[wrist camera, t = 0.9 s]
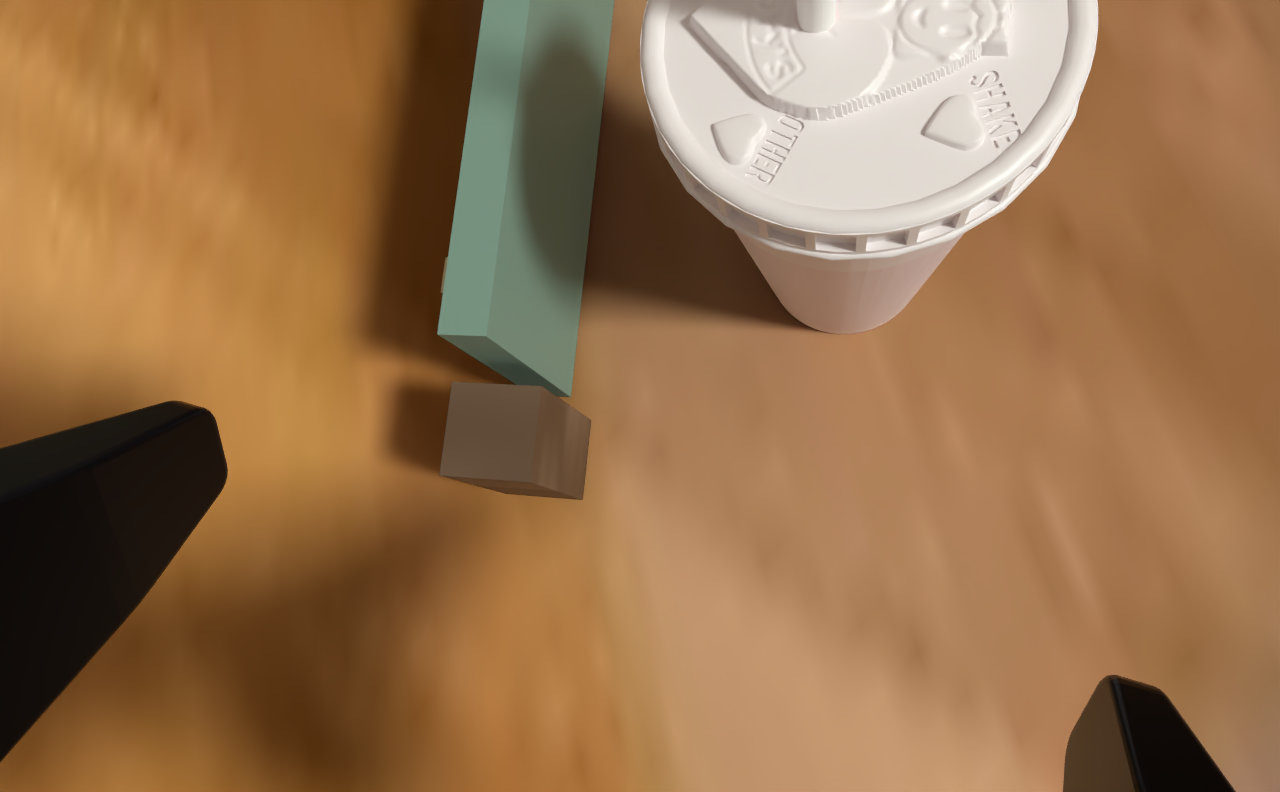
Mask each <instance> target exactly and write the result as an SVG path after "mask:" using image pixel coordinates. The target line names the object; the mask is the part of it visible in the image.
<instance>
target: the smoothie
mask: <svg viewBox="0 0 1280 792" xmlns="http://www.w3.org/2000/svg"><path fill="white" fill-rule="evenodd" d="M1097 32H1098V2H1097V0H648V1H647V4H646V8H645V13H644V17H643V22H642V30H641V39H640V65H641V75H642V81H643V86H644V91H645V95H646V99H647V102H648V106H649V109H650V113H651V117H652V120H653V124H654V128H655V131H656V135H657V139H658V142H659V146H660V149H661V151H662V152H663V154H664V156H665V157H666V159H667V160H668V162H669V164H670V165H671V167H672V168H673V170H674V172H675V173H676V175H677V176H678V178H679V180H680V181H681V183H682V184H683V186H684V188H685V189H686V191H687V192H688V193H689V194H690V195H692V196H693V197H694V198H695V199H696V200H697V201H698V202H699V203H701V204H702V205H703V206H704V207H705V208H706V209H707V210H708V211H710V212H711V213H712V214H713V215H714V216H715V217H716V218H717V219H719V220H720V221H721V222H722V223H723V224H724V225H725V226H727V227H729V228H731V229H733V230H734V231H735V232H736V234H737V236H738V237H739V239H740V240H741V242H742V243H743V245H744V246H745V248H746V250H747V251H748V253H749V254H750V256H751V257H752V259H753V260H754V262H755V264H756V265H757V267H758V268H759V270H760V271H761V273H762V274H763V276H764V277H765V279H766V281H767V282H768V284H769V285H770V287H771V288H772V290H773V291H774V293H775V295H776V296H777V298H778V299H779V301H780V302H781V304H782V305H783V306H784V308H785V309H786V310H787V311H788V312H789V313H790V314H791V315H792V316H794V317H795V318H796V319H797V320H799V321H800V322H802V323H804V324H805V325H807V326H809V327H812V328H814V329H817V330H820V331H823V332H828V333H834V334H853V333H860V332H864V331H868V330H871V329H874V328H876V327H878V326H881V325H883V324H884V323H886V322H888V321H889V320H891V319H892V318H894V317H895V316H896V315H897V314H898V313H900V312H901V311H902V310H903V309H904V308H905V306H906V305H907V304H908V303H909V301H910V300H911V299H912V298H913V296H914V295H915V294H916V293H917V291H918V290H919V289H920V288H921V286H922V285H923V284H924V283H925V281H926V280H927V279H928V278H929V276H930V275H931V274H932V273H933V271H934V270H935V269H936V268H937V266H938V265H939V264H940V263H941V261H942V260H943V259H944V258H945V256H946V255H947V254H948V253H949V251H950V250H951V249H952V248H953V246H954V245H955V244H956V243H957V241H958V240H959V239H960V238H961V236H962V235H963V234H964V233H965V232H967V231H968V230H970V229H972V228H973V227H975V226H977V225H979V224H980V223H982V222H984V221H985V220H987V219H989V218H990V217H992V216H994V215H996V214H997V213H999V212H1001V211H1002V210H1004V209H1005V208H1006V207H1007V206H1008V205H1009V204H1010V203H1011V202H1012V201H1013V200H1014V199H1015V198H1016V197H1017V196H1018V195H1019V194H1020V193H1021V192H1022V191H1023V190H1024V189H1025V188H1026V187H1027V186H1028V185H1029V184H1030V183H1031V182H1032V181H1033V180H1034V179H1035V178H1036V177H1037V176H1038V175H1039V174H1040V173H1041V172H1042V171H1043V170H1044V169H1045V168H1046V167H1047V166H1048V164H1049V162H1050V161H1051V159H1052V157H1053V155H1054V154H1055V152H1056V150H1057V148H1058V146H1059V145H1060V143H1061V141H1062V139H1063V138H1064V136H1065V134H1066V132H1067V131H1068V129H1069V127H1070V125H1071V124H1072V122H1073V120H1074V118H1075V116H1076V112H1077V108H1078V103H1079V99H1080V95H1081V93H1082V91H1083V89H1084V86H1085V83H1086V80H1087V78H1088V75H1089V72H1090V69H1091V65H1092V61H1093V57H1094V53H1095V48H1096V40H1097Z"/></svg>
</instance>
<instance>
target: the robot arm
mask: <svg viewBox="0 0 1280 792" xmlns="http://www.w3.org/2000/svg"><path fill="white" fill-rule="evenodd" d="M227 472H228V469H227V463H226V459H225V455H224V451H223V447H222V443H221V439H220V435H219V431H218V426H217V422H216V420H215V417H214V416H213V414H212V413H211V412H210V411H209V410H207V409H205V408H202V407H199V406H196V405H192V404H189V403H185V402H182V401H168V402H164V403H160V404H157V405H153V406H150V407H146V408H143V409H139V410H135V411H132V412H128V413H125V414H121V415H118V416H114V417H110V418H107V419H103V420H100V421H96V422H93V423H89V424H86V425H82V426H78V427H75V428H71V429H68V430H64V431H61V432H57V433H54V434H50V435H46V436H43V437H39V438H36V439H32V440H29V441H25V442H22V443H18V444H14V445H11V446H7V447H4V448H0V762H1V761H2V760H3V759H4V758H5V757H6V755H7V754H8V753H9V752H10V751H11V750H12V749H13V747H14V746H15V745H16V744H17V743H18V742H19V741H20V740H21V738H22V737H23V736H24V735H25V734H26V733H27V732H28V730H29V729H30V728H31V727H32V726H33V725H34V724H35V722H36V721H37V720H38V719H39V718H40V717H41V716H42V715H43V713H44V712H45V711H46V710H47V709H48V708H49V707H50V705H51V704H52V703H53V702H54V701H55V700H56V699H57V697H58V696H59V695H60V694H61V693H62V692H63V691H64V689H65V688H66V687H67V686H68V685H69V684H70V683H71V682H72V680H73V679H74V678H75V677H76V676H77V675H78V674H79V672H80V671H81V670H82V669H83V668H84V667H85V666H86V664H87V663H88V662H89V661H90V660H91V659H92V658H93V656H94V655H95V654H96V653H97V652H98V651H99V650H100V649H101V647H102V646H103V645H104V644H105V643H106V642H107V641H108V639H109V638H110V637H111V636H112V635H113V634H114V633H115V631H116V630H117V629H118V628H119V627H120V626H121V625H122V624H123V622H124V621H125V620H126V619H127V618H128V616H129V615H130V614H131V613H132V612H133V611H134V609H135V608H136V607H137V606H138V605H139V603H140V602H141V601H142V599H143V598H144V597H145V596H146V594H147V593H148V592H149V590H150V589H151V588H152V586H153V585H154V584H155V582H156V581H157V580H158V578H159V577H160V575H161V574H162V573H163V571H164V570H165V569H166V567H167V566H168V564H169V563H170V562H171V560H172V559H173V558H174V556H175V555H176V553H177V552H178V551H179V549H180V548H181V546H182V545H183V544H184V542H185V541H186V540H187V538H188V537H189V535H190V534H191V533H192V531H193V530H194V529H195V527H196V526H197V524H198V523H199V522H200V520H201V519H202V518H203V516H204V515H205V513H206V512H207V511H208V509H209V508H210V506H211V505H212V504H213V502H214V501H215V500H216V498H217V497H218V495H219V494H220V493H221V491H222V489H223V487H224V485H225V483H226V479H227ZM1063 792H1236V791H1235V790H1234V789H1233V787H1232V786H1231V784H1230V783H1229V782H1228V780H1227V779H1226V778H1225V776H1224V775H1223V773H1222V772H1221V771H1220V769H1219V768H1218V766H1217V765H1216V764H1215V762H1214V761H1213V759H1212V758H1211V757H1210V755H1209V754H1208V752H1207V751H1206V750H1205V748H1204V747H1203V745H1202V744H1201V743H1200V741H1199V740H1198V738H1197V737H1196V736H1195V734H1194V733H1193V731H1192V730H1191V729H1190V727H1189V726H1188V724H1187V723H1186V722H1185V720H1184V719H1183V718H1182V716H1181V715H1180V713H1179V712H1178V711H1177V709H1176V708H1175V706H1174V705H1173V704H1172V702H1171V701H1170V699H1169V698H1168V697H1167V696H1166V694H1164V693H1163V692H1162V691H1161V690H1160V689H1158V688H1157V687H1154V686H1152V685H1148V684H1145V683H1142V682H1138V681H1135V680H1131V679H1128V678H1125V677H1121V676H1118V675H1108V676H1106V677H1105V678H1103V679H1102V680H1101V681H1100V682H1099V684H1098V685H1097V687H1096V689H1095V691H1094V693H1093V694H1092V696H1091V698H1090V700H1089V702H1088V703H1087V705H1086V707H1085V709H1084V711H1083V712H1082V714H1081V716H1080V718H1079V719H1078V721H1077V723H1076V725H1075V727H1074V728H1073V730H1072V732H1071V735H1070V738H1069V741H1068V745H1067V749H1066V755H1065V767H1064V783H1063Z"/></svg>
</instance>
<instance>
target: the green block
mask: <svg viewBox="0 0 1280 792" xmlns="http://www.w3.org/2000/svg"><path fill="white" fill-rule="evenodd" d="M613 7H614V0H484V4H483V11H482V18H481V25H480V32H479V40H478V47H477V54H476V61H475V68H474V75H473V82H472V89H471V97H470V104H469V111H468V118H467V125H466V132H465V139H464V146H463V154H462V161H461V168H460V175H459V182H458V189H457V196H456V204H455V211H454V218H453V225H452V232H451V239H450V246H449V253H448V257H445V264H444V271H443V278H442V285H441V293H442V294H443V296H442V303H441V310H440V318H439V325H438V332H437V335H439V336H440V337H442V338H444V339H445V340H447V341H448V342H450V343H452V344H453V345H455V346H456V347H458V348H459V349H461V350H463V351H464V352H466V353H467V354H469V355H470V356H472V357H474V358H475V359H477V360H478V361H480V362H481V363H483V364H485V365H486V366H488V367H489V368H491V369H492V370H494V371H496V372H497V373H499V374H500V375H502V376H504V377H505V378H507V379H508V380H510V381H511V382H513V383H515V384H516V385H528V386H542V387H544V388H545V389H547V390H548V391H549V392H551V393H552V394H554V395H555V396H559V397H571V391H572V382H573V372H574V363H575V354H576V345H577V336H578V327H579V318H580V309H581V299H582V290H583V281H584V272H585V263H586V254H587V245H588V236H589V226H590V217H591V208H592V199H593V190H594V181H595V172H596V163H597V153H598V144H599V135H600V126H601V117H602V108H603V99H604V90H605V80H606V71H607V62H608V53H609V44H610V35H611V26H612V17H613Z"/></svg>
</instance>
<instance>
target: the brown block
mask: <svg viewBox="0 0 1280 792" xmlns="http://www.w3.org/2000/svg"><path fill="white" fill-rule="evenodd" d="M590 426H591V420H590V419H589V418H587V417H586V416H584V415H583V414H582V413H580V412H579V411H577V410H576V409H574V408H573V407H571V406H570V405H568V404H567V403H565V402H564V401H563V400H561V399H560V398H558V397H557V396H555V395H554V394H552V393H551V392H549V391H548V390H547V389H545V388H544V387H542V386H528V385H509V384H489V383H470V382H452V386H451V393H450V400H449V408H448V415H447V422H446V430H445V437H444V445H443V452H442V459H441V467H440V474H439V475H440V476H443V477H447V478H451V479H454V480H458V481H462V482H465V483H469V484H473V485H476V486H480V487H483V488H487V489H491V490H494V491H498V492H502V493H505V494H515V495H528V496H541V497H553V498H566V499H578V500H583V493H584V483H585V473H586V464H587V454H588V445H589V435H590Z"/></svg>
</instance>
